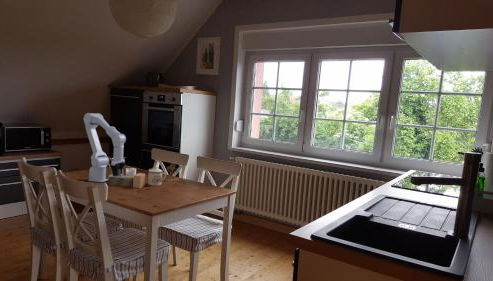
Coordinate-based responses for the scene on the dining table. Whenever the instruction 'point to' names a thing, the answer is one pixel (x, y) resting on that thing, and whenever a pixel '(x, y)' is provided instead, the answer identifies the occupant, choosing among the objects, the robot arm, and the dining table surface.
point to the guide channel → (121, 182)
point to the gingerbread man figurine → (172, 175)
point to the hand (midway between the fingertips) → (117, 174)
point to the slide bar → (120, 175)
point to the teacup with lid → (155, 176)
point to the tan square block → (139, 180)
